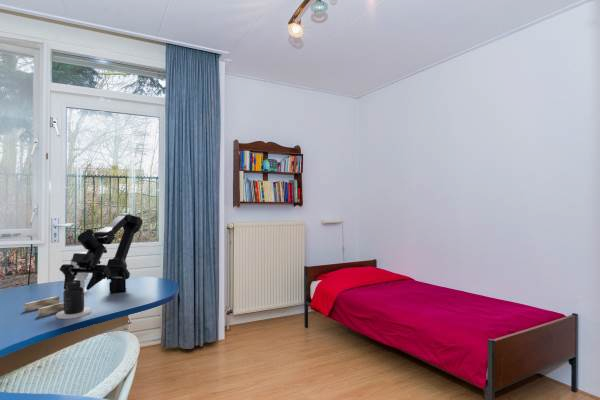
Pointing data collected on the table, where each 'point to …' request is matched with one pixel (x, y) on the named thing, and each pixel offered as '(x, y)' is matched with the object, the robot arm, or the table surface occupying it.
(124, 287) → the robot arm
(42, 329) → the table surface
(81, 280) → the heart sculpture
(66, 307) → the supplement bottle
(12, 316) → the table surface
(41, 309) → the channel
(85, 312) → the pad
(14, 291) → the table surface
